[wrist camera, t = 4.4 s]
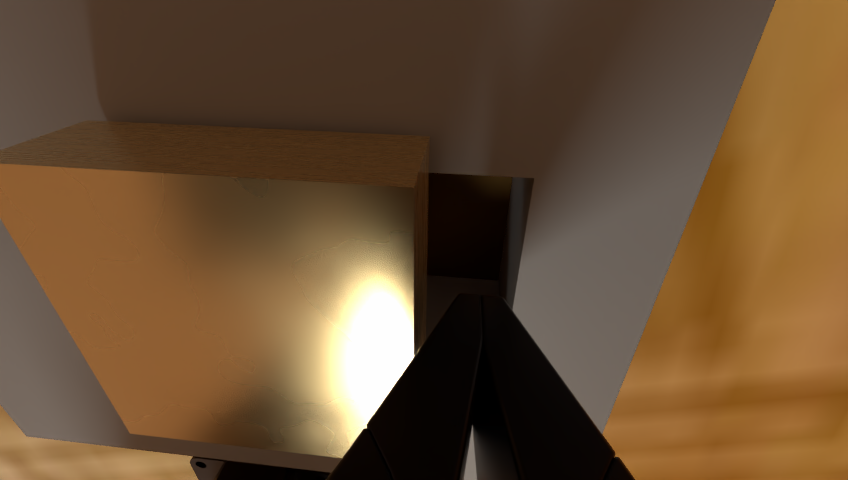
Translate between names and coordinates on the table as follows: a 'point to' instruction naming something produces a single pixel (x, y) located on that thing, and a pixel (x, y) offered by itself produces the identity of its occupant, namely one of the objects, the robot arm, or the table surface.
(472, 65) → the base plate
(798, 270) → the table surface
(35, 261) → the brass cover
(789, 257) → the table surface
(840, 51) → the table surface
